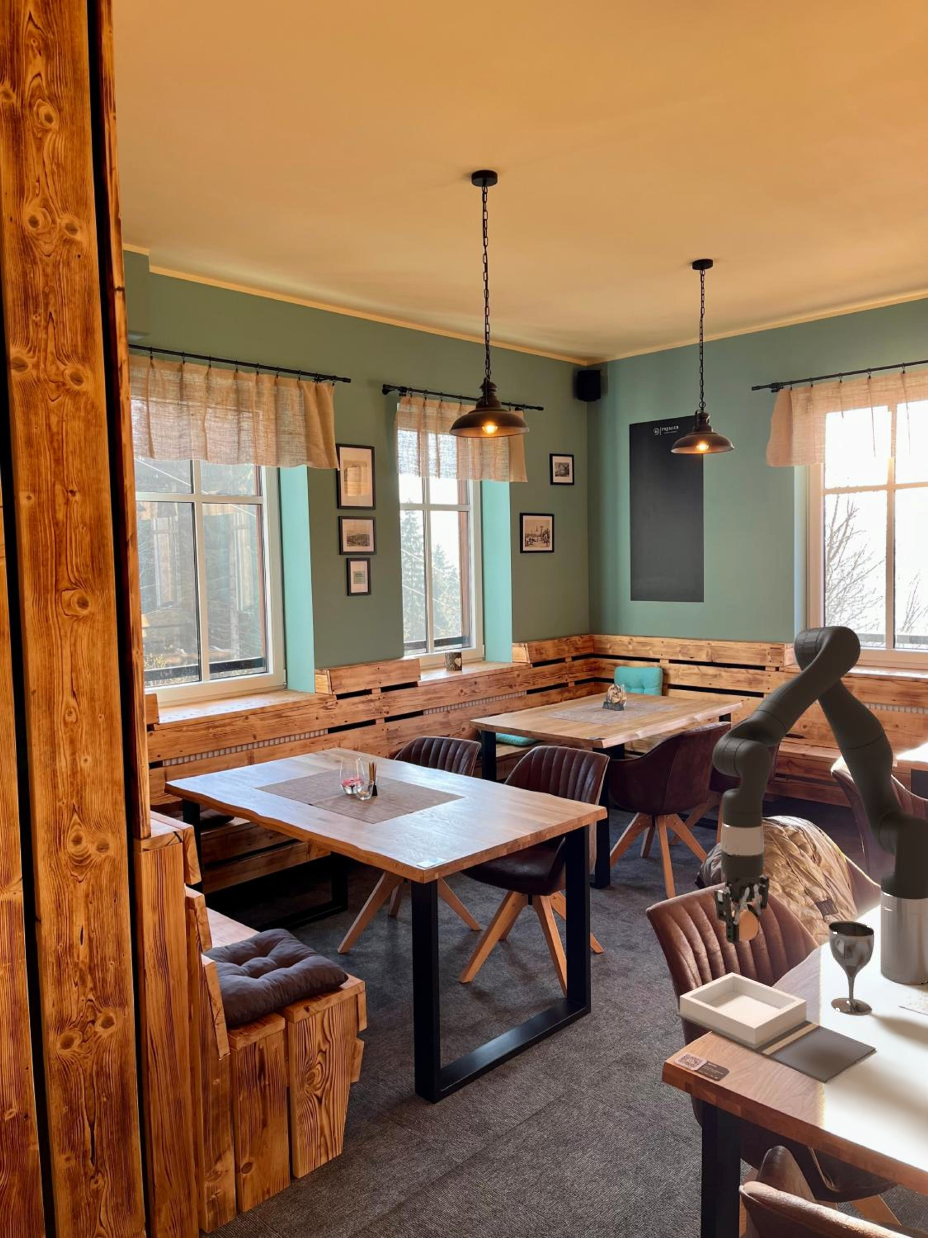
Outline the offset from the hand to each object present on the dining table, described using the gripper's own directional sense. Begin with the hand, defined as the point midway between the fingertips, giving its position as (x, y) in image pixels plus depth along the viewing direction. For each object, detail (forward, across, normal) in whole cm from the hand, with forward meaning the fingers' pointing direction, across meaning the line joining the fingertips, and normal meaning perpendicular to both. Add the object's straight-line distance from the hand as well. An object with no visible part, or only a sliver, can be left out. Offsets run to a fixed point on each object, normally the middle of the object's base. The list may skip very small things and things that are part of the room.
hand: (742, 938), depth 167 cm
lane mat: (+15, 0, +6) cm, 16 cm away
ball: (-2, 0, 0) cm, 2 cm away
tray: (+15, 0, 0) cm, 15 cm away
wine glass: (+16, -20, +10) cm, 27 cm away
